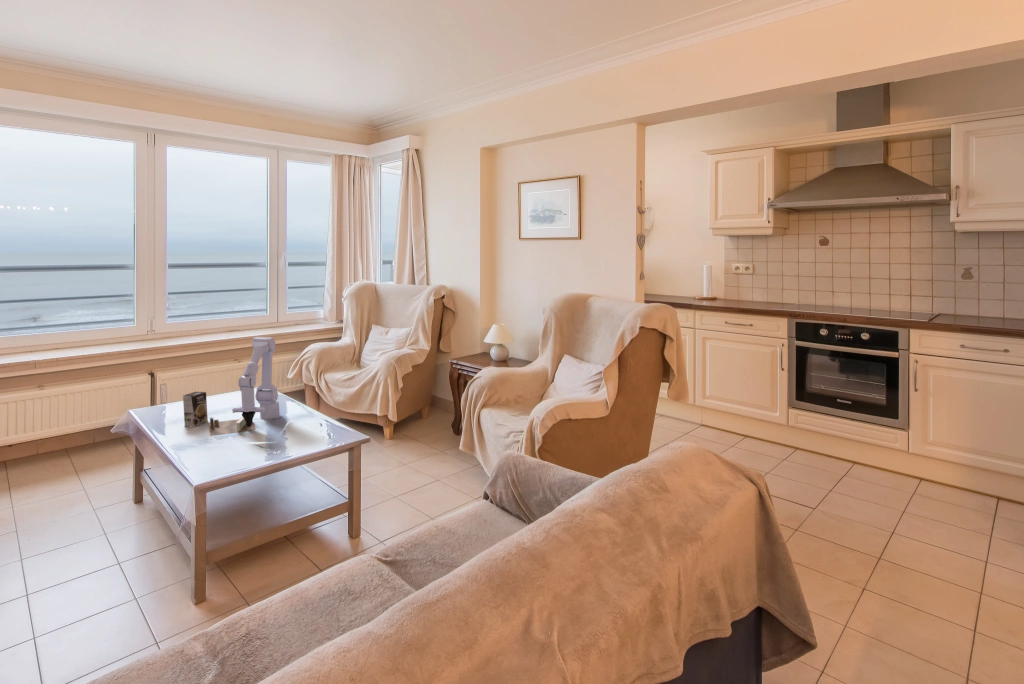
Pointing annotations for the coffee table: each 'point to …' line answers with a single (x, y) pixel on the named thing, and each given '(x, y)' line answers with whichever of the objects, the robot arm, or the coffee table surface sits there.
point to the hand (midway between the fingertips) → (249, 426)
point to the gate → (240, 423)
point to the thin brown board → (226, 427)
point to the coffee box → (195, 409)
